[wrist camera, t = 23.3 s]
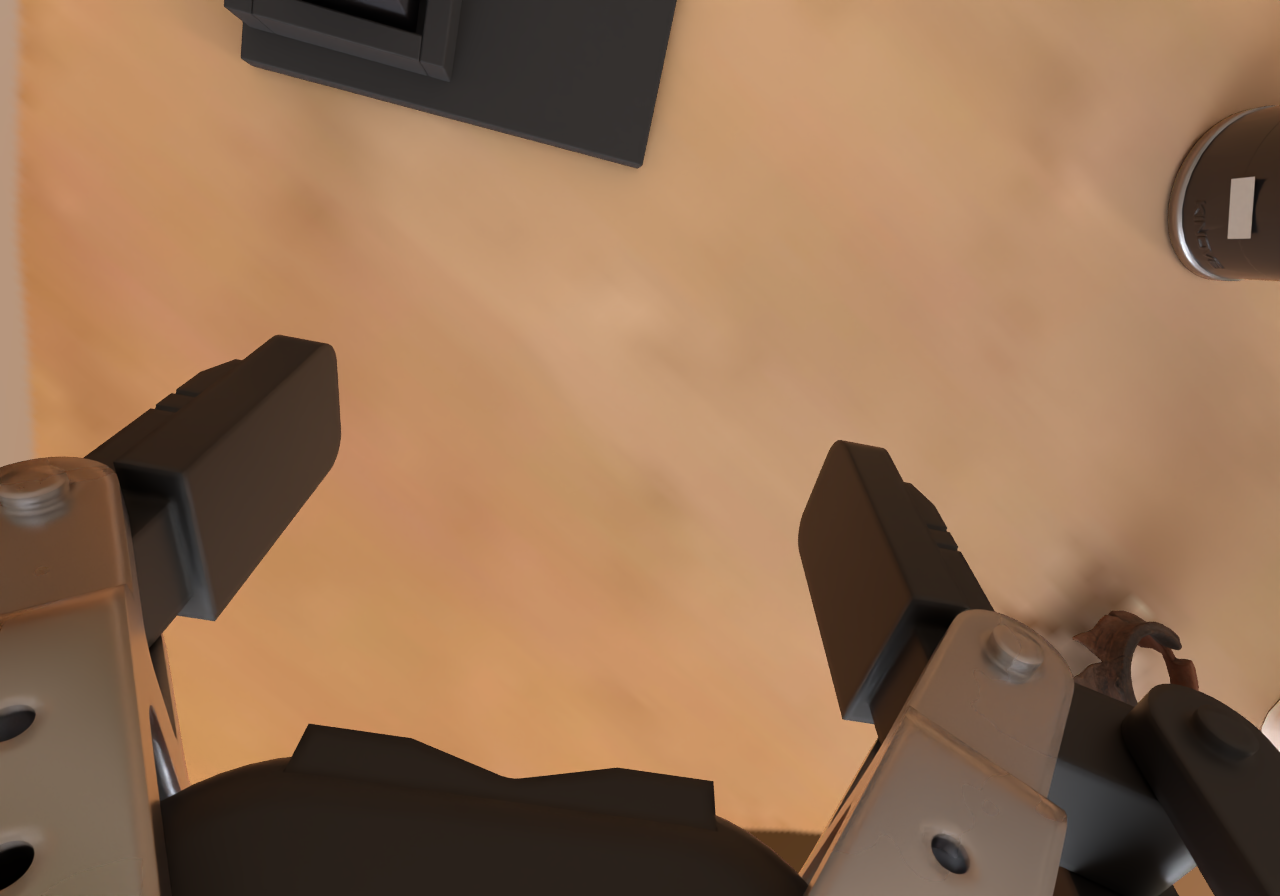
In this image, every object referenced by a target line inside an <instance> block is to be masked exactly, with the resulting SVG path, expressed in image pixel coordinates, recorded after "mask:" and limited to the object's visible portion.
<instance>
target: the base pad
mask: <svg viewBox="0 0 1280 896" xmlns="http://www.w3.org/2000/svg"><path fill="white" fill-rule="evenodd" d="M676 2H677V0H420V1H419V9H418V17H417V25H416V32H412V31H408V30H405V29H401V28H398V27H394V26H391V25H387V24H384V23H380V22H377V21H373V20H370V19H366V18H363V17H359V16H356V15H353V14H349V13H346V12H342V11H339V10H335V9H332V8H328V7H325V6H321V5H318V4H314V3H311V2H307V1H304V0H224V7H225V8H227V9H228V10H229V11H230V12H232V13H233V14H234V15H235V16H237V17H238V18H239V19H241V20H242V21H243V29H242V45H241V59H243V60H244V61H246V62H247V63H249V64H250V65H252V66H255V67H258V68H262V69H266V70H270V71H273V72H277V73H281V74H285V75H288V76H292V77H296V78H300V79H303V80H307V81H311V82H315V83H318V84H322V85H326V86H330V87H334V88H337V89H341V90H345V91H349V92H352V93H356V94H360V95H364V96H367V97H371V98H375V99H379V100H382V101H386V102H390V103H394V104H397V105H401V106H405V107H409V108H412V109H416V110H420V111H424V112H427V113H431V114H435V115H439V116H442V117H446V118H450V119H454V120H457V121H461V122H465V123H469V124H472V125H476V126H480V127H484V128H488V129H491V130H495V131H499V132H503V133H506V134H510V135H514V136H518V137H521V138H525V139H529V140H533V141H536V142H540V143H544V144H548V145H551V146H555V147H559V148H563V149H566V150H570V151H574V152H578V153H581V154H585V155H589V156H593V157H596V158H600V159H604V160H608V161H611V162H615V163H619V164H623V165H627V166H630V167H634V168H639V167H641V166H642V164H643V160H644V155H645V150H646V145H647V141H648V136H649V131H650V126H651V121H652V117H653V112H654V107H655V102H656V97H657V93H658V88H659V83H660V78H661V73H662V69H663V64H664V59H665V54H666V50H667V45H668V40H669V35H670V30H671V26H672V21H673V16H674V11H675V6H676Z"/></svg>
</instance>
